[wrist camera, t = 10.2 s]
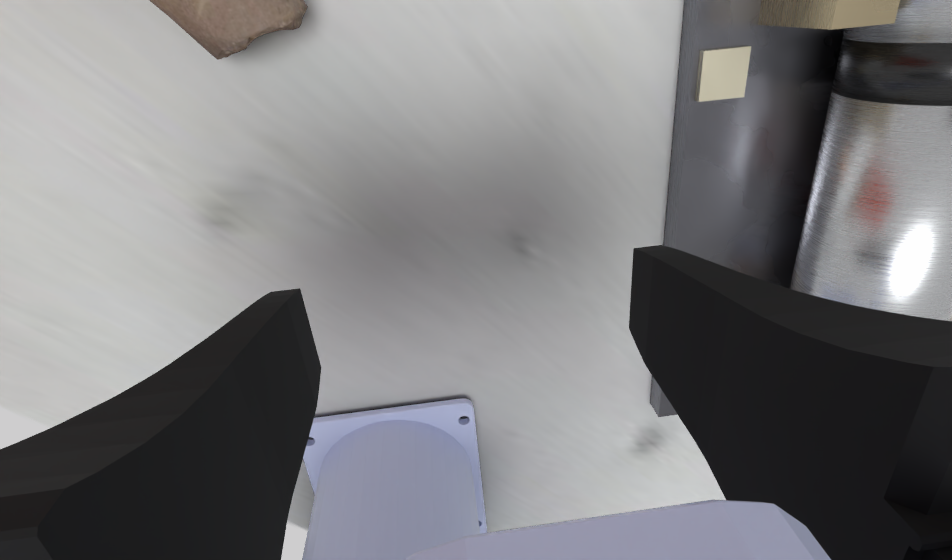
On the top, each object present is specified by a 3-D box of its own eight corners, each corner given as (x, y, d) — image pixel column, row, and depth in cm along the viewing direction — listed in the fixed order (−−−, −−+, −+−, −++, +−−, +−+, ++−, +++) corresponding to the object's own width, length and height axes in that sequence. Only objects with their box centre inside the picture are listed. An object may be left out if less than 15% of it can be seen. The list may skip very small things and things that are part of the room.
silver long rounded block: (866, 380, 25) (943, 474, 20) (749, 379, 25) (797, 470, 21) (1043, -181, 15) (1269, -258, 11) (851, -158, 16) (981, -220, 11)
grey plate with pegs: (925, 365, 27) (1014, 428, 23) (650, 402, 26) (693, 475, 22) (1141, -215, 17) (1371, -283, 13) (700, -180, 16) (796, -241, 12)
